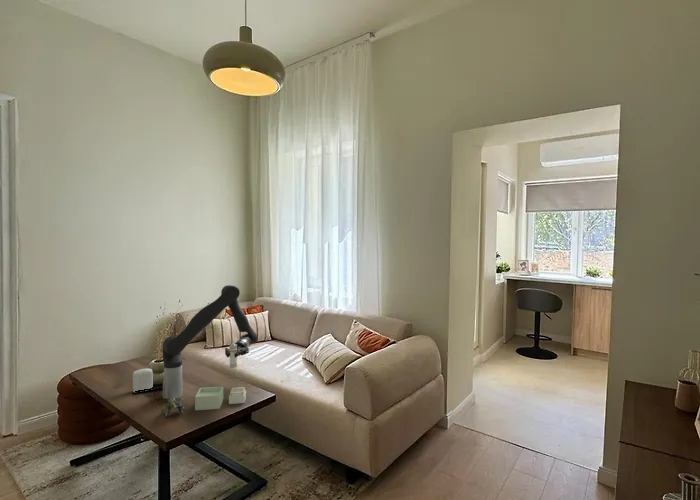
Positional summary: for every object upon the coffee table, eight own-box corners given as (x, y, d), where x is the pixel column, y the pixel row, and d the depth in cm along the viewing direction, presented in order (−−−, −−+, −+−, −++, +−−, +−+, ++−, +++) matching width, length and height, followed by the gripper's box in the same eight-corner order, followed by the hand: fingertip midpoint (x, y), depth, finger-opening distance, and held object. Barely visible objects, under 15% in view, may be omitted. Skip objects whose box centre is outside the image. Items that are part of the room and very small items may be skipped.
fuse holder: (228, 404, 203) (228, 393, 203) (231, 397, 211) (231, 387, 211) (244, 403, 205) (244, 392, 204) (246, 396, 213) (245, 386, 212)
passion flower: (180, 423, 193) (191, 406, 190) (159, 428, 184) (170, 410, 181) (172, 405, 199) (183, 389, 196) (151, 409, 190) (162, 392, 188)
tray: (195, 410, 196) (195, 396, 196) (200, 400, 208) (200, 387, 207) (219, 408, 198) (219, 395, 198) (223, 399, 210) (223, 386, 209)
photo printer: (152, 387, 226) (152, 366, 226) (153, 389, 222) (153, 368, 222) (132, 390, 220) (132, 369, 220) (133, 393, 217) (132, 371, 216)
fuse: (229, 368, 204) (229, 345, 204) (230, 365, 208) (230, 343, 208) (236, 367, 205) (236, 345, 205) (237, 365, 209) (237, 343, 208)
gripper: (228, 340, 221) (218, 348, 203) (253, 340, 220) (244, 348, 203) (228, 352, 221) (218, 362, 204) (253, 353, 221) (244, 362, 203)
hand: (231, 355), depth 203 cm, fingers closed on fuse, 3 cm apart
